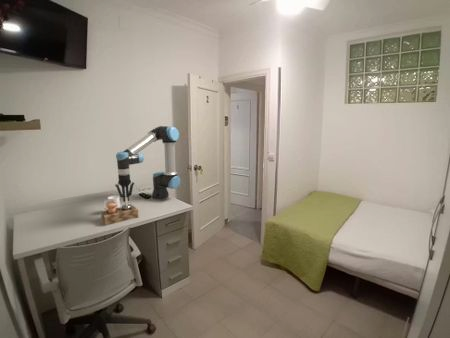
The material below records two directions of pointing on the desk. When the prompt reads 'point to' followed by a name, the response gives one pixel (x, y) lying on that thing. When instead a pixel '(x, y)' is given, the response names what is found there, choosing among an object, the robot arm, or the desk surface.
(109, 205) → the peach ball
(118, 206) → the mug
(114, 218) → the block
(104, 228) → the desk surface
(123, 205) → the ball grey
